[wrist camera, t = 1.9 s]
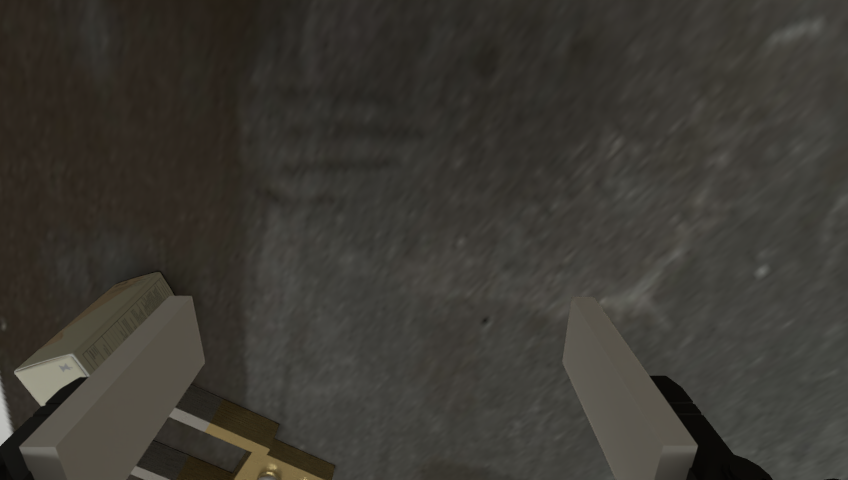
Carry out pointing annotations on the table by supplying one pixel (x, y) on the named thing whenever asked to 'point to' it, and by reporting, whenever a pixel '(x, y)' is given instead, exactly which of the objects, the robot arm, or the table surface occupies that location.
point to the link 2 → (255, 451)
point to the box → (92, 335)
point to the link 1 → (166, 462)
